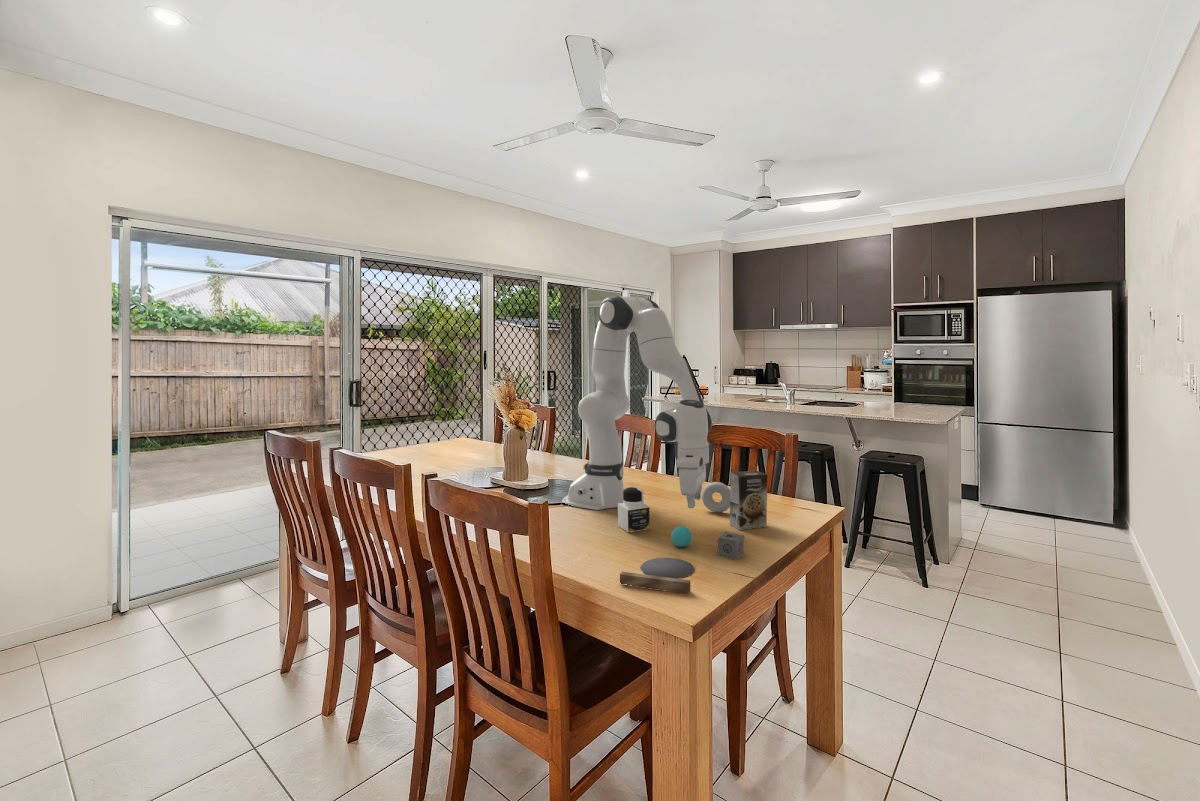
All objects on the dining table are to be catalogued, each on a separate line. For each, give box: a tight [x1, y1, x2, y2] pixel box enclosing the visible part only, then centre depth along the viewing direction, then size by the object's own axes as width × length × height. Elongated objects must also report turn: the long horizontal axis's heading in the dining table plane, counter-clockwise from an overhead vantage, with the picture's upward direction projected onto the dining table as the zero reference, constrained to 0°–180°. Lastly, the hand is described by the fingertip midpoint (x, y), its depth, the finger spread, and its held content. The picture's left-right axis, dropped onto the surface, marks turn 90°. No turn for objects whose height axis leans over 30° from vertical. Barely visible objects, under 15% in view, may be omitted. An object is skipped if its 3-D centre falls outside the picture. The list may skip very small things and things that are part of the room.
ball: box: [671, 525, 693, 548], centre depth 157 cm, size 6×6×6 cm
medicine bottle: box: [617, 486, 650, 533], centre depth 173 cm, size 7×7×12 cm
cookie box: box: [729, 470, 768, 531], centre depth 172 cm, size 9×6×16 cm
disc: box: [640, 557, 695, 579], centre depth 142 cm, size 13×13×1 cm
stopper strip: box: [619, 571, 691, 595], centre depth 131 cm, size 16×2×2 cm, turn 70°
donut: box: [701, 481, 730, 514], centre depth 187 cm, size 10×4×10 cm, turn 64°
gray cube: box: [717, 531, 745, 560], centre depth 150 cm, size 5×5×5 cm
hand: (694, 503), depth 169 cm, fingers open, 8 cm apart
